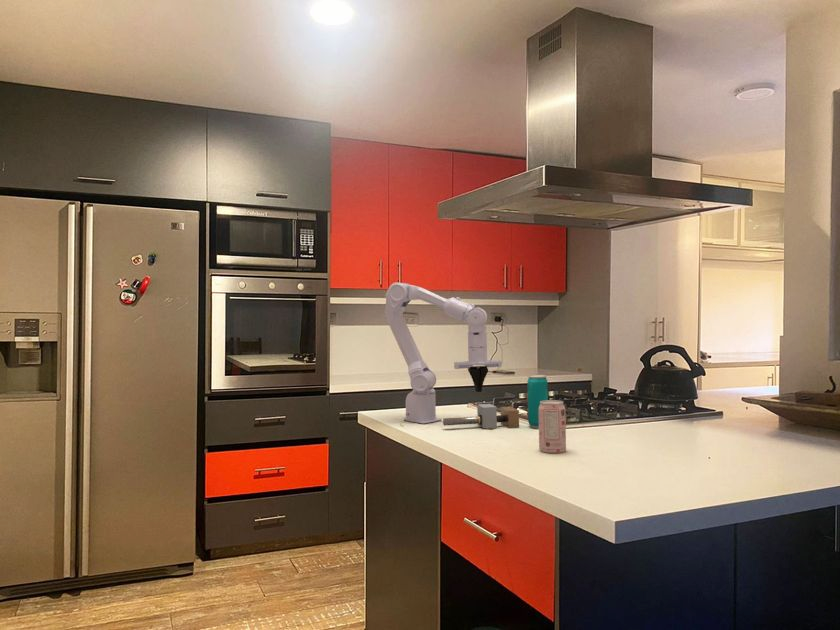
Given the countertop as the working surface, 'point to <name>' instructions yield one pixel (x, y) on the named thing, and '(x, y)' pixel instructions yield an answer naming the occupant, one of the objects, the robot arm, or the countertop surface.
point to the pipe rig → (506, 418)
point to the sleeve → (487, 415)
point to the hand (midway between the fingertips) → (478, 391)
